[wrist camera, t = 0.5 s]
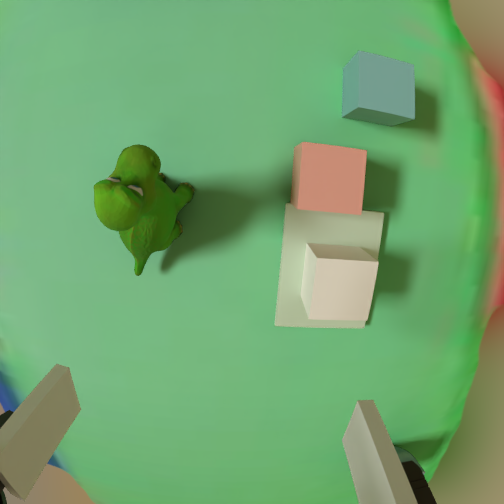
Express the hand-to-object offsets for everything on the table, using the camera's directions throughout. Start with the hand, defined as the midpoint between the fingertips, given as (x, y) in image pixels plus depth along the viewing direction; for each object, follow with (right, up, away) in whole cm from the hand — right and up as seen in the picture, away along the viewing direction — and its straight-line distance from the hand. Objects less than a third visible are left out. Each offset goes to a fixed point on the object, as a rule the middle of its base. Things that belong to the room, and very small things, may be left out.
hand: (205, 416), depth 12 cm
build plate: (+11, +5, +23) cm, 25 cm away
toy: (-8, +11, +22) cm, 26 cm away
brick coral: (+9, +15, +20) cm, 27 cm away
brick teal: (+15, +24, +18) cm, 34 cm away
